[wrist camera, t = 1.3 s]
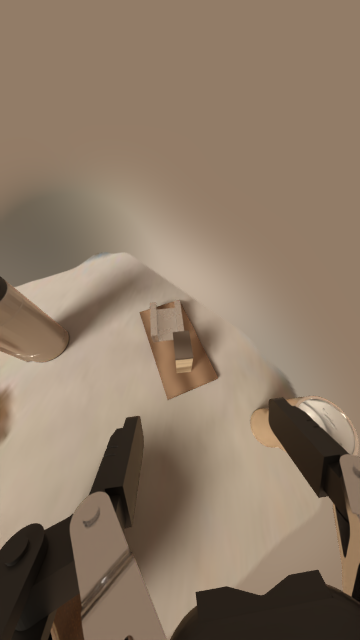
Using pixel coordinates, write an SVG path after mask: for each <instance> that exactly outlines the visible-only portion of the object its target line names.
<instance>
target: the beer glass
mask: <svg viewBox="0 0 360 640" xmlns="http://www.w3.org/2000/svg"><path fill="white" fill-rule="evenodd" d="M286 401H287V402H288V403H289V404H290V405H291V406H296V407H298V408H300V409H301V410H303V411H305V412H306V413H307V414H308V415H309V416H310V417H311V418H312V419H313V421H315V422H316V423H317V424H318V425H319V426H320V427H322V428H323V429H324V430H325V431H326V432H327V433H328V434H329V435H330V436H331V437H332V438H333V439H334V440H335V441H336V442H337V443H338V444H340V445H341V446H342V447H343V448H344V449H345V450H346V451H347V452H348V453H349V454H351V455H355V456H357V454H358V450H359V442H358V436H357V433H356V430H355V428H354V426H353V424H352V423H351V421H350V419H349V418H348V417H347V415H346V414H345V413H344V412H343V411H342V410H341V409H340V408H339V407H338V406H336V405H335V404H334V403H332V402H330V401H329V400H327V399H324V398H322V397H317V396H308V397H298V398H291V399H287V400H286ZM268 416H269V409H266V408H261V409H258V410H256V411H255V412H254V413H253V414H252V416H251V420H250V426H251V430H252V433H253V435H254V436H255V438H256V439H257V440H258V441H259V442H260V443H261V444H263V445H264V446H266V447H271V448H275V447H279V448H280V449H282V450H283V451H285V452H286V450H285V449H284V447H283V446H282V445H281V443H280V442H279V440H278V439H277V437H276V436H275V434H274V433H273V432H272V430H271V428H270V425H269V421H268ZM286 453H287V452H286Z"/></svg>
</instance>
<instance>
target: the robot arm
mask: <svg viewBox="0 0 360 640" xmlns="http://www.w3.org/2000/svg"><path fill="white" fill-rule="evenodd" d="M68 341H69V335H68V332H67V331H66V330H65V329H64V328H63V327H61V326H60V325H59V324H58V323H57V322H55V321H54V320H53V319H52V318H51V317H49V316H48V315H47V314H46V313H44V312H43V311H42V310H41V309H40V308H38V307H37V306H36V305H35V304H33V303H32V302H31V301H30V300H29V299H27V298H26V297H25V296H24V295H22V294H21V293H20V292H19V291H17V290H16V289H15V288H14V287H13V286H11V285H10V284H9V283H8V282H6V281H5V280H4V279H3V278H2V277H0V351H2V352H4V353H7V354H9V355H11V356H14V357H16V358H19V359H21V360H24V361H26V362H29V361H35V362H47V361H50V360H52V359H54V358H56V357H57V356H59V355H60V354H61V353H62V352H63V351H64V349H65V348H66V346H67V344H68ZM268 421H269V425H270V428H271V430H272V432H273V433H274V434H275V436H276V437H277V439H278V440H279V442H280V443H281V445H282V446H283V447H284V449H285V450H286V452H287V453H288V455H289V456H290V457H291V459H292V460H293V462H294V463H295V465H296V466H297V467H298V469H299V470H300V472H301V473H302V475H303V476H304V477H305V479H306V480H307V482H308V483H309V485H310V486H311V487H312V489H313V490H314V492H315V493H316V495H317V496H318V497H319V498H320V497H326V496H329V498H330V499H331V500H332V502H333V513H334V519H335V525H336V532H337V538H338V544H339V551H340V557H341V564H342V588H343V591H341V590H339V589H337V588H335V587H332V586H330V585H327V584H325V582H324V580H323V578H322V576H321V574H320V573H319V570H314V571H309V572H303V573H297V574H292V575H288V576H287V577H286V578H285V579H284V580H282V581H281V582H280V583H279V584H277V585H276V586H275V587H274V588H272V589H271V590H270V591H269V592H267V593H266V594H265V595H256V594H253V593H249V592H245V591H242V590H238V589H234V588H230V587H221V588H216V589H210V590H205V591H199V592H196V600H197V606H196V607H195V608H193V609H192V610H191V611H190V612H189V613H188V614H187V615H186V616H185V617H184V618H183V619H182V621H181V622H180V624H179V625H178V627H177V628H176V630H175V632H174V633H173V635H172V637H171V639H170V640H360V457H358V456H355V455H351V454H349V453H348V452H347V451H346V450H345V449H344V448H343V447H342V446H341V445H340V444H338V443H337V442H336V441H335V440H334V439H333V438H332V437H331V436H330V435H329V434H328V433H327V432H326V431H325V430H324V429H323V428H322V427H320V426H319V425H318V424H317V423H316V422H315V421H313V419H312V418H311V417H310V416H309V415H308V414H307V413H306V412H305V411H303V410H301V409H300V408H298V407H296V406H291V405H290V404H289V403H288V402H287V401H286V400H285V399H284V398H275V399H270V400H269V416H268ZM143 448H144V437H143V431H142V425H141V419H140V416H134V417H127V418H126V420H125V423H124V426H123V428H120V429H117V430H116V431H115V432H114V433H113V435H112V436H111V437H110V440H109V443H108V445H107V449H106V451H105V453H104V457H103V459H102V462H101V464H100V467H99V470H98V472H97V475H96V478H95V481H94V483H93V486H92V489H91V491H90V494H89V496H88V497H87V498H85V499H84V500H83V501H82V502H81V503H80V505H79V506H78V507H77V509H76V510H75V512H74V514H72V515H71V516H70V517H68V518H66V519H65V520H63V521H61V522H59V523H57V524H55V525H53V526H51V527H50V528H48V529H46V530H44V529H43V526H42V525H40V524H37V523H35V524H30V525H28V526H26V527H24V528H22V529H21V530H20V531H18V532H17V533H16V534H15V535H13V536H12V537H11V538H10V539H9V540H8V541H7V542H6V544H5V545H4V546H3V547H2V548H1V550H0V640H48V638H49V634H50V631H51V628H52V625H53V621H54V618H55V615H56V612H57V609H58V608H59V607H60V606H62V605H63V604H65V603H66V602H68V601H69V600H71V599H72V598H73V597H75V596H76V595H78V594H79V593H80V597H81V604H82V609H81V620H82V628H83V635H84V640H167V638H166V636H165V633H164V631H163V628H162V626H161V623H160V620H159V618H158V615H157V613H156V610H155V608H154V605H153V603H152V600H151V598H150V595H149V593H148V590H147V588H146V585H145V582H144V580H143V577H142V575H141V572H140V570H139V567H138V565H137V562H136V560H135V557H134V555H133V553H132V552H131V551H130V549H129V547H128V544H127V542H126V539H125V536H124V529H125V528H128V527H132V524H133V517H134V510H135V503H136V496H137V489H138V483H139V476H140V469H141V462H142V455H143Z"/></svg>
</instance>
